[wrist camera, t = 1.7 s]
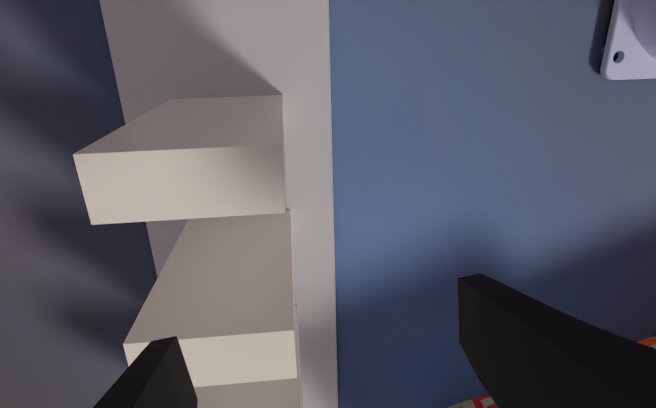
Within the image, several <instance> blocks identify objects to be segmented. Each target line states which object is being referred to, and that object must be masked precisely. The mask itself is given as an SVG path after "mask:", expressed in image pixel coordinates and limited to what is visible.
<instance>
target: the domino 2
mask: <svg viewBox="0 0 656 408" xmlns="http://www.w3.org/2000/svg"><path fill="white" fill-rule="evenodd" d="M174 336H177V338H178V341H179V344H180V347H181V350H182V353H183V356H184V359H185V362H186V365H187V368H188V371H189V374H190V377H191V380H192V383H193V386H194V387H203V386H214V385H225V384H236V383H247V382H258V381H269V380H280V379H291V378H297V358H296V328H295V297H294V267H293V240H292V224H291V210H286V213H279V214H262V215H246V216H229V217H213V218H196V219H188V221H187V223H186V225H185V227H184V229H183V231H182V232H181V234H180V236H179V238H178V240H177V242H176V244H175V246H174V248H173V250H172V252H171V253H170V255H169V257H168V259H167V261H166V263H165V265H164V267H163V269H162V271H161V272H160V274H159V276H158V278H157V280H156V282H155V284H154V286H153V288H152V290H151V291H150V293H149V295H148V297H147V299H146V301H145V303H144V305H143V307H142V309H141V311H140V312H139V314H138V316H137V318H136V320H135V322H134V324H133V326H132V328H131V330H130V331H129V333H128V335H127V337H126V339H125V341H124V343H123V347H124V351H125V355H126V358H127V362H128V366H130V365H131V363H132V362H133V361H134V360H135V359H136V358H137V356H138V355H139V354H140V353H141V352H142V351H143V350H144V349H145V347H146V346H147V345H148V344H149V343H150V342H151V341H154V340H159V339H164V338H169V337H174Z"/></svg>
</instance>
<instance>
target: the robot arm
mask: <svg viewBox="0 0 656 408" xmlns="http://www.w3.org/2000/svg"><path fill="white" fill-rule="evenodd" d="M616 52H617V53H618V58H617V60H616V61H613V57H614V54H615V53H616ZM600 73H601V76H602V77H603V78H604V79H609V80H626V79H652V78H656V0H615V1H614V6H613V11H612V16H611V21H610V25H609V30H608V35H607V40H606V45H605V49H604V54H603V59H602V64H601V68H600ZM458 304H459V338H460V344H461V346H462V348H463V350H464V352H465V354H466V356H467V358H468V360H469V362H470V364H471V365H472V367H473V369H474V371H475V373H476V375H477V377H478V378H479V380H480V381H481V383H482V384H483V386H484V387H485V389H486V390H487V392H488V393H489V395H490V396H491V398H492V399H493V401H494V402H495V404H496V405H497V407H498V408H656V349H655V348H652V347H649V346H646V345H643V344H640V343H637V342H635V341H632V340H629V339H626V338H623V337H620V336H618V335H615V334H613V333H610V332H607V331H605V330H602V329H600V328H598V327H595V326H593V325H590V324H588V323H586V322H583V321H581V320H578V319H576V318H574V317H572V316H569V315H567V314H565V313H563V312H560V311H558V310H556V309H554V308H552V307H550V306H547V305H545V304H543V303H541V302H539V301H537V300H535V299H533V298H531V297H529V296H527V295H525V294H523V293H521V292H519V291H516V290H514V289H512V288H510V287H508V286H506V285H504V284H502V283H500V282H498V281H496V280H494V279H492V278H490V277H487V276H485V275H483V274H475V275H471V276H466V277H461V278H458ZM197 403H198V398H197V395H196V392H195V389H194V386H193V383H192V380H191V377H190V374H189V371H188V368H187V365H186V362H185V359H184V356H183V353H182V350H181V347H180V344H179V341H178V338H177V336H174V337H169V338H164V339H159V340H154V341H151V342H150V343H149V344H148V345H147V346H146V347H145V349H144V350H143V351H142V352H141V353H140V354H139V355H138V356H137V358H136V359H135V360H134V361H133V362H132V363H131V365H130V366H129V367H128V368H127V369H126V370H125V372H124V373H123V374H122V375H121V376H120V377H119V379H118V380H117V381H116V382H115V383H114V384H113V385H112V387H111V388H110V389H109V390H108V391H107V392H106V393H105V395H104V396H103V397H102V398H101V399H100V400H99V401H98V402H97V404H96V405H95V406H94V407H93V408H197Z"/></svg>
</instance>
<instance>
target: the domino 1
mask: <svg viewBox="0 0 656 408" xmlns="http://www.w3.org/2000/svg"><path fill="white" fill-rule="evenodd" d="M73 157H74V161H75V165H76V169H77V173H78V176H79V180H80V184H81V188H82V192H83V195H84V199H85V203H86V207H87V210H88V214H89V218H90V222H91V225H98V224H114V223H130V222H147V221H163V220H180V219H196V218H213V217H229V216H246V215H262V214H279V213H286V132H285V117H284V101H283V95H257V96H232V97H206V98H181V99H170V100H168V101H166V102H165V103H163V104H161V105H159V106H157V107H156V108H154V109H152V110H150V111H149V112H147V113H145V114H143V115H142V116H140V117H138V118H136V119H134V120H133V121H131V122H129V123H127V124H126V125H124V126H122V127H120V128H119V129H117V130H115V131H113V132H111V133H110V134H108V135H106V136H104V137H103V138H101V139H99V140H97V141H96V142H94V143H92V144H90V145H88V146H87V147H85V148H83V149H81V150H80V151H78V152H76V153H74V154H73Z"/></svg>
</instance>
